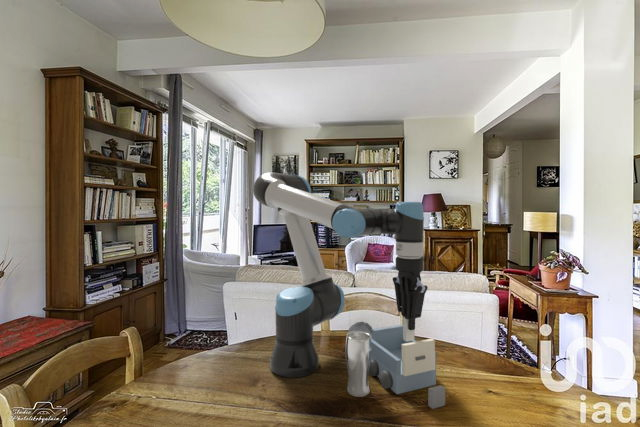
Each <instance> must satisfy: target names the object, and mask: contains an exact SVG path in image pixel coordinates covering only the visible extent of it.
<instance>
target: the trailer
mask: <svg viewBox="0 0 640 427" xmlns="http://www.w3.org/2000/svg"><path fill="white" fill-rule="evenodd" d="M416 341H417V340H415V339H414V340H412V341H407V342H406V341H405V340H403V324H397V325H390V326H384V327H378V328H377V327H376V328H372V339H371V350H372V353H371V363H370V369H369V374H368V375H369V376H370V377H375V376H376V377H377V378H379V382H380V385H381V387H382V388H383V389H390V390H391V391H392V392H394V393H395V394H396V395H401V394H403V393H404V394H405V393H407V392H408V393H409V392H412V391H416V390H420V389H424V388H427V387H428V391H427V392H428V395H427V399H428V400H427V401H428V402H427V405H428V407H429V408H430V409H432V410H434V409H437V408H441V407H444V406H446V386H445V387H444V386H443V385H442V384H441V385H437V352H436V351H435V370H431V371H427V372H422V373H418V374H413V375H409V376H404V375H402V345H401V344H405V343H411V342H416Z"/></svg>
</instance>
